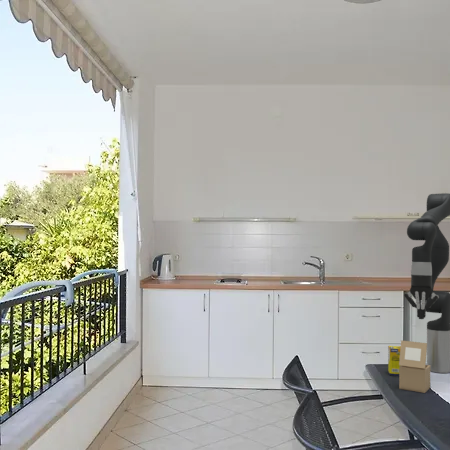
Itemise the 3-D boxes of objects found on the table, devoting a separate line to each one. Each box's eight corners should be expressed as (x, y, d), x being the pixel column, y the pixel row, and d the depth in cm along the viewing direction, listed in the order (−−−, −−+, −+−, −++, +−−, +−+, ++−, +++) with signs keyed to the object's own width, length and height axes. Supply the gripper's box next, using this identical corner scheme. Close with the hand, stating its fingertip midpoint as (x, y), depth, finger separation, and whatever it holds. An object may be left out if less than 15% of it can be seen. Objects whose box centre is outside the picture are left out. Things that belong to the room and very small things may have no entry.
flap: (401, 340, 194) (401, 340, 193) (427, 343, 189) (426, 343, 188) (399, 365, 191) (398, 364, 190) (425, 368, 186) (424, 368, 185)
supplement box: (405, 376, 208) (405, 349, 209) (389, 375, 210) (389, 348, 210) (403, 373, 214) (403, 346, 215) (387, 372, 215) (388, 345, 216)
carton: (405, 383, 198) (405, 362, 198) (430, 387, 193) (430, 365, 193) (399, 388, 190) (399, 366, 191) (425, 392, 186) (425, 370, 186)
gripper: (441, 274, 201) (441, 319, 201) (406, 272, 208) (405, 316, 208) (437, 275, 195) (437, 321, 194) (401, 273, 202) (401, 318, 201)
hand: (421, 318), depth 201 cm, fingers closed
